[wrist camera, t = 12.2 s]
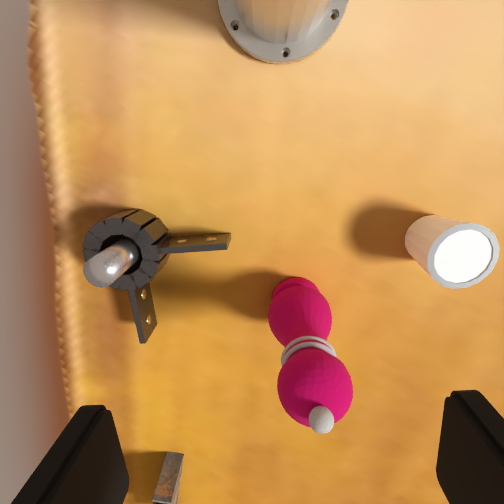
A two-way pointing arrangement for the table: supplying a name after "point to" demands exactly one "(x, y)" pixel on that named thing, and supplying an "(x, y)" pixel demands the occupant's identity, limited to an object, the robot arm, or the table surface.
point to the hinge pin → (112, 262)
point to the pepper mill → (308, 356)
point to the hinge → (145, 256)
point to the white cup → (452, 250)
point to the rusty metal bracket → (169, 480)
